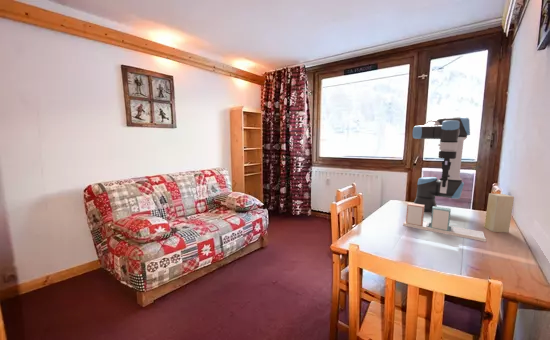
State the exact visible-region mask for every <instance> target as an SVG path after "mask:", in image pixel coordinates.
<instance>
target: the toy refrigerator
mask: <svg viewBox="0 0 550 340" xmlns="http://www.w3.org/2000/svg"><path fill="white" fill-rule="evenodd" d="M514 200H515V197H514V196H513V195H508V194H507V193H506V194H504V193H488V198H487V203H486V204H487V205H486V213H485V222H484V229H486V230H489V231H490V232H492V233H509V232H510V228H511V227H510V226H511V219H512V213H513V208H514V207H513V206H514Z"/></svg>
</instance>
